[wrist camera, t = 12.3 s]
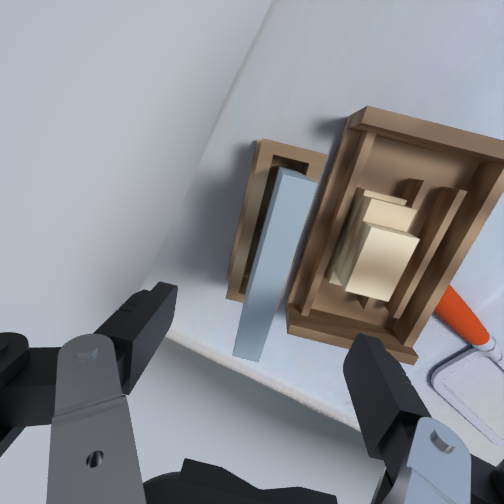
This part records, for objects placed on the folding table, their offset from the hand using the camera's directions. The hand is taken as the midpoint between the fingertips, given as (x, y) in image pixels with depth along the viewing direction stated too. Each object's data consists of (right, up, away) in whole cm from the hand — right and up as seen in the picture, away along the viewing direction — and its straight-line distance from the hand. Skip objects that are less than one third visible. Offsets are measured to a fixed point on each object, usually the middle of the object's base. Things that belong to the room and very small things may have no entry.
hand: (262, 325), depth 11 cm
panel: (+2, +6, +17) cm, 18 cm away
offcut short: (+11, +3, +13) cm, 17 cm away
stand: (+2, +7, +18) cm, 19 cm away
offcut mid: (+11, +4, +14) cm, 19 cm away
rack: (+13, +5, +18) cm, 22 cm away
